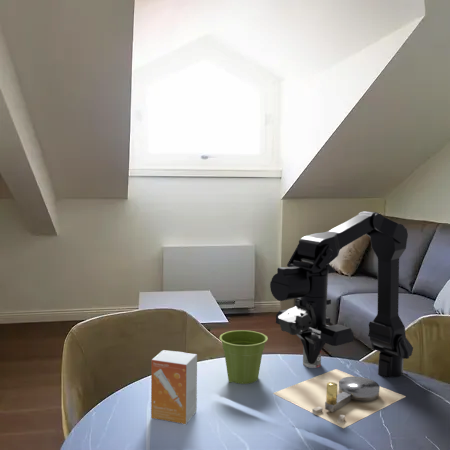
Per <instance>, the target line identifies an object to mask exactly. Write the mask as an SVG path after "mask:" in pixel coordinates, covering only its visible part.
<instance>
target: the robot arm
mask: <svg viewBox="0 0 450 450" xmlns="http://www.w3.org/2000/svg"><path fill="white" fill-rule="evenodd" d="M365 235H366V236H368V237H369V238H370V246H371V248H372V249H371V250H373V252H374V254H375V256H376V258H377V311H376V316H375V317H374V319H373V320H370V321H369V323H368V337H369V341H370V343H371V347H372V350H373V351H377V352H379V353H378V365H377V366H378V368H377V375H378V376H380V377H384V378H398V377H402V376H408V377H409V374H408V373H406V372H404V361H405V360H406V359H410V357H411V356H412V355H413V351H414V347H413V345H412V344H411V342H410V341H409V340H408V338H407V336H406V335H407V334H406V327H405V324H404V323H403V321H402V319H401V318H400V315H399V299H400V297H399V288H400V285H399V284H400V282H399V281H400V259H401V257H402V256H403V254H404V252H405V251H406V249H407V243H408V236H409V235H408V229H407V228H406V227H405V225H403V224H401V223H398V222H396V221H393V220H392V219H389V218H387V217H384V216H383V215H382V214H381V213H379V212H376V211H368V210H367V211H365V210H363V211H360V212H359V213H358V214H357V215H355V216H353V217H352V218H350V219H348V220H346V221H345V222H342V223H340V224H338V225H337V226H335V227H333V228H331V229H330V230H327V231H325V232H315V233H312V234H307V235H305V236H303V237H301V238H300V239H299V241H298V245H296V248H295V250H294V251H293V253H292V255H291V257H290V259H289V260H288V262H287V265H286V266H287V267H284V266H278V267H277V270H276V271H277V272H276V273H275V274H273V276H272V278H271V280H270V283H269V286H270V287H269V288H270V292H271V294H272V296H273V298H274V299H275V300H277V301H278V302H283V301H288V300H294V299H295V300H294V301H295V303H294V306H293V307H290V308H287V309H283V310H278V311H277V313H276V315H275V323H276V324H278V325H279V326H280V331H282V332H286V333H288V334H290V335H292V336H297V337H298V338H299V339H300V341H301V343H302V348H303V347H304V350H305V353H306V357H307V360H308V363H310V364H314V363H315V361H316V359H317V357H318V355H319V354H320V352H321V353H322V349H323V348H324V346H325V345H326V344H327V345H330V346H332V347H336V346H341V345H345V344H349V343H352V342H354V334H355V333H354V331H353V329H352V328H351V327H349V326H346V325H342V324H339V323H337V324H333V325H327V324H329V323H331V317H328V316H327V311H328V310H327V307H328V305H332V300H331V299H330V298H328V283H329V274H333V273H335V272H336V269H335V268H334V267H332V266H331V263H332V261H334V260H335V259H336V258H338V256H339V255H340V254H339V253H340V250H342V249H343V248H344V247H346V246H348V245H350V244H351V243H353V242H355V241H357V240H358V239H361V238H363V236H365Z"/></svg>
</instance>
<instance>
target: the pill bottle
mask: <svg viewBox="0 0 450 450" xmlns="http://www.w3.org/2000/svg"><path fill="white" fill-rule="evenodd" d="M302 348H303V349H302V365H303V366H304V367H307V368H310V369H315V368H320V367H321V365H322V351H321V352H320V354H319V355H318V357H317V359H316V361H315V363H314V364H310V363H308V360H307V357H306V353H305V350H304V347H303V346H302Z"/></svg>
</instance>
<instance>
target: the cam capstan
mask: <svg viewBox="0 0 450 450" xmlns="http://www.w3.org/2000/svg"><path fill="white" fill-rule="evenodd" d="M379 386H380V385H379V383H378V382H377V381H375V380H373V379H371V378H368V377H363V376H355V377H345V378H342V379H341V380H340V381H339V393H340V394H338V395H337V384H336V383H333V382H329V383H327V393H326V402H325V409H326V410H328V411H331V412H335V411H336V410H338V409H340V408H341V407H343V406H344V405H346V404H348V403H349V402H351V400H353V401H358V402H371V401H374V400H377V399H378V398H379V389H380V387H379Z"/></svg>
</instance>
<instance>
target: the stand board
mask: <svg viewBox="0 0 450 450" xmlns="http://www.w3.org/2000/svg"><path fill="white" fill-rule="evenodd" d="M345 377H356V376H354V375H352V374H350V373H347V372H345V371H342V370H340V369H336V368H335V369H333V370H332V369H331V370H330V371H328V372H324V373H323V374H319V375H316V376H314V377H311V378H309V379H306V380H303V381H301V382H299V383H296V384H292V385H290V386H288V387H285V388H282V389H280V390H277V391H275V392H273V393H272V394H273V395H275V396H277V397H279V398H281V399H283V400H285V401H287V402H289V403H292V404H294V405H296V406H297V407H299V408H301V409H303V410H306V411H308V412H310V413H311V414H313V415H315V416H317V417H319V418H321V419H323V420H325V421H327V422H329V423H331V424H333V425H336V426H338V427H339V428H341V429H345V428H347V427H349V426H352V425H353V424H355V423H358V422H359V421H361V420H363V419H365V418H367V417H369V416H371V415H373V414H375V413H377V412H378V411H381V410H382V409H385V408H387V407H389V406H390V405H393V404H394V403H396V402H398V401H400V400H402V399H404V398H406V397H407V396H406V395H404V394H401V393H398V392H396V391H393V390H391V389H388V388H385V387H383V386H380V385H379V387H380V389H379V398H378V399H377V400H374V401H371V402H358V401H353V400H351V402H349V403H348V404H346V405H344V406H343V407H341V408H340V409H338V410H336V411H335V412H331V411H328V410H326V409H325V402H326V393H327V383H329V382H333V383H336V384H337V395H338V394H340V393H339V381H340V380H341V379H342V378H345Z"/></svg>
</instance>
